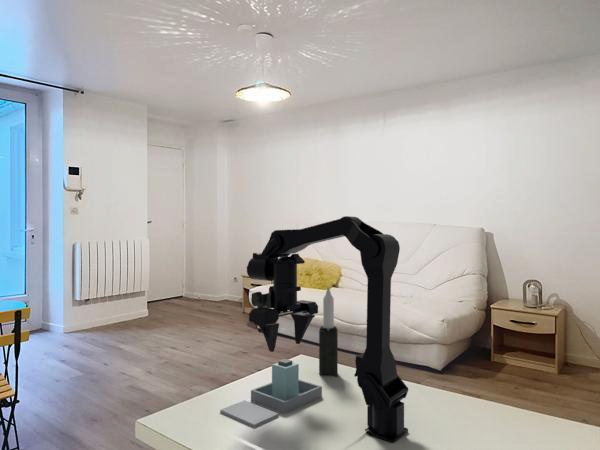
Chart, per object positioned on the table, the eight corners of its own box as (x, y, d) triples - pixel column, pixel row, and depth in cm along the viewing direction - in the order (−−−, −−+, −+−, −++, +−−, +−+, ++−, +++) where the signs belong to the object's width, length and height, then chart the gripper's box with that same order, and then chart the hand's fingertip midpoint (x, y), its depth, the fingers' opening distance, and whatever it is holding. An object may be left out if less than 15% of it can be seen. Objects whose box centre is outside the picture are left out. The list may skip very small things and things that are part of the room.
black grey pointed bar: (337, 372, 122) (337, 285, 123) (337, 378, 117) (337, 287, 118) (319, 371, 123) (319, 285, 123) (318, 377, 118) (318, 287, 118)
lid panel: (278, 419, 91) (278, 413, 91) (254, 430, 86) (254, 424, 86) (244, 405, 99) (244, 400, 99) (220, 415, 93) (220, 409, 93)
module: (298, 397, 102) (298, 360, 102) (285, 403, 99) (285, 364, 99) (284, 392, 105) (284, 357, 105) (271, 398, 101) (272, 361, 102)
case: (321, 398, 103) (321, 386, 103) (284, 416, 93) (284, 402, 93) (285, 387, 111) (285, 375, 111) (248, 401, 101) (248, 389, 101)
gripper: (286, 277, 114) (286, 335, 114) (233, 283, 100) (233, 349, 100) (319, 280, 107) (319, 342, 107) (266, 286, 93) (266, 358, 93)
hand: (285, 347), depth 102 cm, fingers open, 9 cm apart
